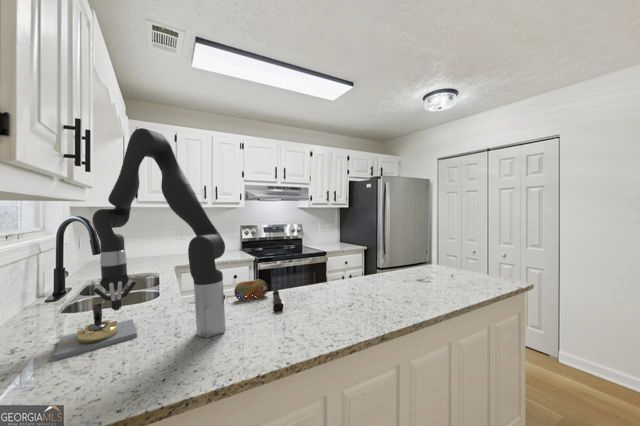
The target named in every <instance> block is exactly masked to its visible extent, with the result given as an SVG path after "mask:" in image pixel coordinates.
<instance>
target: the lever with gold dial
mask: <svg viewBox="0 0 640 426" xmlns="http://www.w3.org/2000/svg"><path fill="white" fill-rule="evenodd" d="M102 305H103V304H102V302H97V303H94V304H92V313H93V316H92V317H93V320H94V321H93V323H90V324H87V325H85V326H84V329H83V328H82V329H78V330H77V332H76V333H78V342H79V343H80V344H90V343H95V342H99V341H102V340H105V339H108V338H110V337H112V336H114V335H115V334H116V333H117V323H118V321H117V320H115V321H111V320H110V319H108V320H106V319H105V320H102V318H103V308H102V307H103V306H102Z"/></svg>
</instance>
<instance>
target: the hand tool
mask: <svg viewBox="0 0 640 426" xmlns="http://www.w3.org/2000/svg"><path fill="white" fill-rule="evenodd" d="M272 299H273V306H272V310H273V312H274V313H281V312H283V311H284V303H282V299H281V297H280V292H279V290H278V289H277V288H274V289H273V290H272Z"/></svg>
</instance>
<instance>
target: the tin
mask: <svg viewBox="0 0 640 426" xmlns="http://www.w3.org/2000/svg"><path fill="white" fill-rule="evenodd" d="M268 288H269V286H268V284H267V282H266V281H265V280H264V279H260V278H259V279H258V278H257V279H253V280H246V281H241V282H239V283H237V284H236V286H235V287H234V292H233V294H234V296H235V298H236V299H237V300H238V301H240V302H243V301H242V300H246V301H249V300H248V299H251V300H254V299H255V298H256V297H258V298H256V299H260V298H263V297H264V296H266V295H267V294H268V293H267V292H268ZM252 295H253V296H252ZM245 296H247V297H245ZM255 296H256V297H255ZM239 297H240V298H239ZM256 299H255V300H256Z"/></svg>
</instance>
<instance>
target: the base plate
mask: <svg viewBox="0 0 640 426" xmlns="http://www.w3.org/2000/svg"><path fill="white" fill-rule="evenodd" d="M136 338H138V331H137V329H136V326H135V323H134V320H133V319H127V320H122V321H120V322H119V321H118V322H117V333H116V334H115V335H114V336H112V337H110V338H108V339H105V340H102V341H99V342H95V343H90V344H80V343H79V342H78V333H77V332H74V333H70V334H65V335H63V336H60V337H59V339H58V343H57V346H56V348H55V352H54V355H53V361H58V360H63V359H66V358H69V357H72V356H76V355H80V354H84V353H87V352H90V351H94V350H97V349H101V348H104V347H108V346H110V345H111V346H112V345H115V344H118V343H122V342H125V341H128V340H133V339H136Z"/></svg>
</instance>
